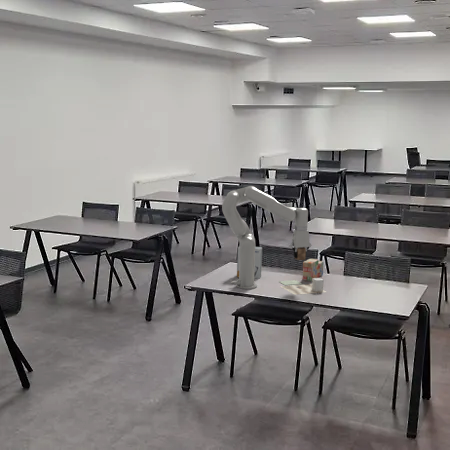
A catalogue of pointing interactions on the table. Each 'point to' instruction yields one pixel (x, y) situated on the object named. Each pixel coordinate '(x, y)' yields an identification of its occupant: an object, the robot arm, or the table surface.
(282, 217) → the robot arm
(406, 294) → the table surface
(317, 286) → the pale grey block
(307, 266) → the stack of blocks
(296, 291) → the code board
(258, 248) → the hard drive box
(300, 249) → the walnut block
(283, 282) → the mat
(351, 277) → the table surface
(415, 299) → the table surface
